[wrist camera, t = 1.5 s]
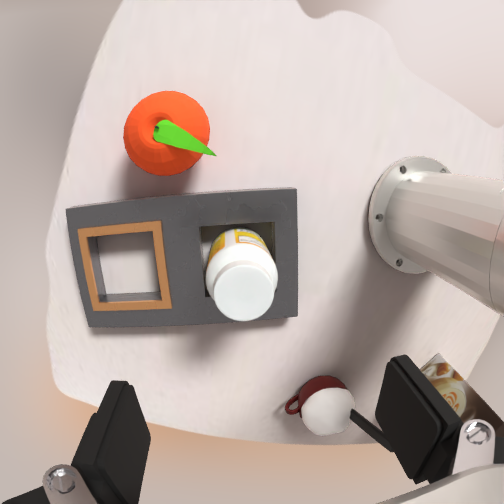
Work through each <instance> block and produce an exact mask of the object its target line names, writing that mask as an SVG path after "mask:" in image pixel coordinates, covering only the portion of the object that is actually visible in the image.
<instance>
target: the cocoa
mask: <svg viewBox="0 0 504 504" xmlns="http://www.w3.org/2000/svg"><path fill="white" fill-rule="evenodd" d="M296 400H298V407H297V408H296V409H294V410H290V409H289V406H290V405H291V404H292V403H294V402H295V401H296ZM355 408H356V406H355V400H354V398H353V396H352V395H351V393H350V392H349V390H348V389H347V388H346V386H345V385H344V384H343V383H342V382H341V381H340V380H339V379H337V378H335V377H332V376H318V377H315V378H313V379H311V380H309V381H308V382H307V383H306V384H305V385H304V386H303V387H302V389H301V391H300V393H299V394H297V395H296V396H294V397H293V398H292V399H290V400H289V401H288V402H287V404H286V406H285V410H286V412H287V413H288V414H290V415H293V414H296V413H298V412H299V414H300V417H301V418H302V420H303V422H304V424H305V425H306V427H307V428H308V429H309V430H311V431H312V432H313V433H314V434H316V435H319V436H326V435H330V434H334V433H342V432H343V431H344V430H345V429H346V428H347V427H348V426H349V423H350V420H352V421H353V422H354V423H355V424H357V425H358V426H359V427H360V428H361V429H363V430H364V431H365V432H366V433H368V434H369V435H370V436H371V437H372V438H374V439H375V440H376V441H377V442H379V443H380V444H381V445H382V446H384V447H385V448H386V449H387V450H389V451H390V452H394V451H393V449H392V447H391V445H390V443H389V442H388V440H387V438H386V436H385V434H384V433H383V432H382V431H381V430H379V429H378V428H377V427H376V426H374V425H373V424H372V423H371V422H369V421H368V420H367V419H365V418H364V417H363V416H362V415H360V414H359V413H358V412H357V411H355Z"/></svg>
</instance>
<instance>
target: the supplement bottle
mask: <svg viewBox="0 0 504 504" xmlns="http://www.w3.org/2000/svg"><path fill="white" fill-rule="evenodd" d="M277 281H278V273H277V268H276V265H275V263H274V261H273V259H272V257H271V255H270V253H269V251H268V249H267V247H266V245H265V243H264V241H263V239H262V238H261V237H260V236H259V235H258V234H257V233H256V232H254V231H252V230H250V229H248V228H244V227H234V228H230V229H227V230H225V231H223V232H222V233H221V234H219V235H218V236H217V238H216V239H215V240H214V242H213V244H212V246H211V250H210V254H209V260H208V265H207V270H206V286H207V289H208V292H209V294H210V296H211V297H212V298H213V300H214V301H215V304H216V306H217V307H218V309H219V310H220V311H221V312H222V313H223V314H224V315H225V316H227V317H228V318H230V319H233V320H237V321H250V320H253V319H256V318H258V317H260V316H261V315H263V314H264V313H265V312H266V311H267V310H268V309H269V307H270V306H271V304H272V301H273V298H274V292H275V290H276V287H277Z"/></svg>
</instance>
